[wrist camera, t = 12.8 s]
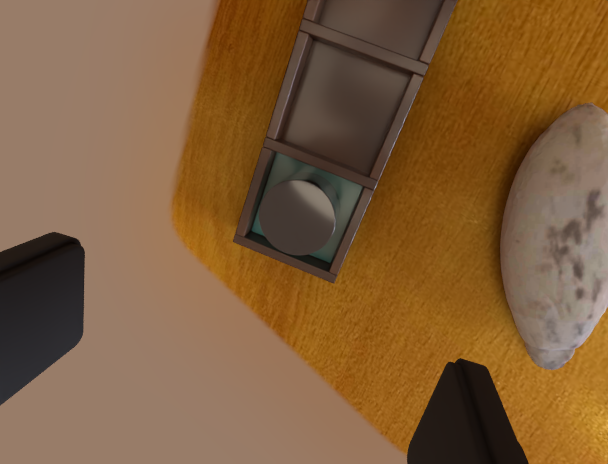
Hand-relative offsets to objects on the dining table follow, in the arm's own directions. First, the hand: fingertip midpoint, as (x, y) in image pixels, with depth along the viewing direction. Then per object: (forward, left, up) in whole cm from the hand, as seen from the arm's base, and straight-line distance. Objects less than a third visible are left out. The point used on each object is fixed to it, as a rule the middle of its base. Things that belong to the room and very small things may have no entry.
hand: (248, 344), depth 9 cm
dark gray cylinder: (+1, -1, -15) cm, 15 cm away
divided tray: (-5, -2, -16) cm, 17 cm away
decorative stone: (-6, +12, -16) cm, 21 cm away
